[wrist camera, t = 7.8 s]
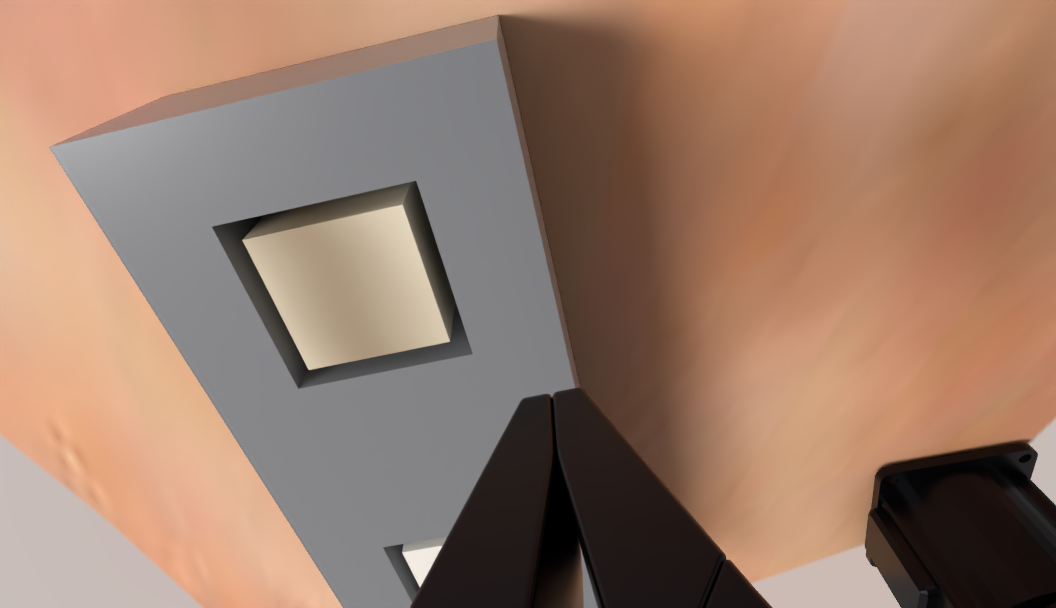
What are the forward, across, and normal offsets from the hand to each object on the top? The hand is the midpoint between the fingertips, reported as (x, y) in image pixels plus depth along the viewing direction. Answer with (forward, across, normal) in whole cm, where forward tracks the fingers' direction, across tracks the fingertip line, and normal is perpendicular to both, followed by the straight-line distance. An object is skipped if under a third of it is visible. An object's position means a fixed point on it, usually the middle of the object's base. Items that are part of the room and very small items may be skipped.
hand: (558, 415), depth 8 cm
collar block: (+12, +5, +7) cm, 15 cm away
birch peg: (+12, +5, +1) cm, 13 cm away
